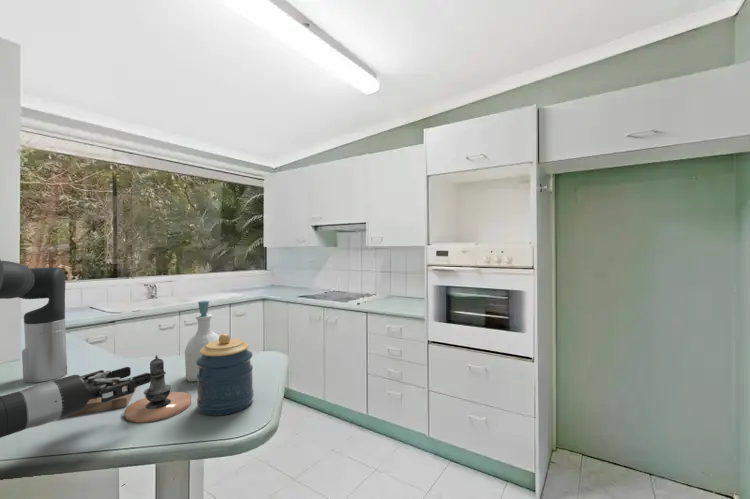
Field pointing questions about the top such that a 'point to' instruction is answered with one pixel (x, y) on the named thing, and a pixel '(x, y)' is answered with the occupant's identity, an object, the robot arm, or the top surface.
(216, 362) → the canister
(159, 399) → the salt shaker
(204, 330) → the soap bottle
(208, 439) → the top surface
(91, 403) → the wooden square frame
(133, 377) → the robot arm
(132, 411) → the saucer
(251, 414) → the top surface
